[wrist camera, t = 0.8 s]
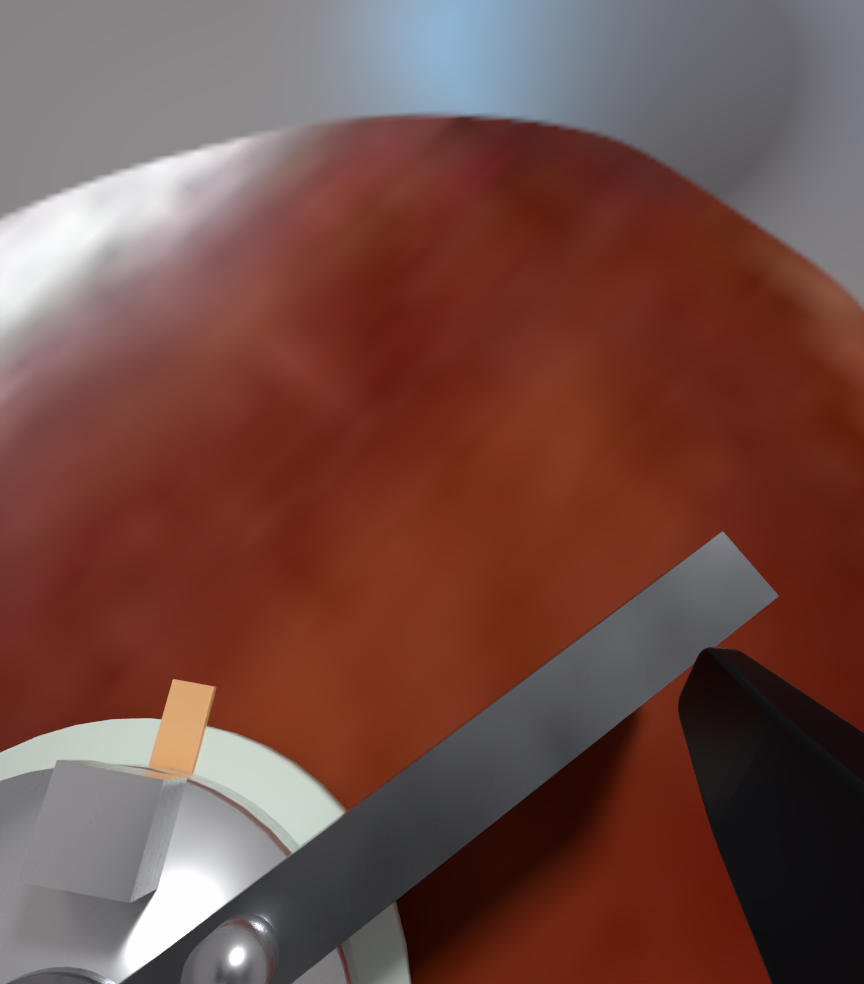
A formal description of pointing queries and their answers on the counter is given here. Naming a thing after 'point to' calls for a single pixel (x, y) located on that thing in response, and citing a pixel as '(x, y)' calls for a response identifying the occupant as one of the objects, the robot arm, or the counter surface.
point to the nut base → (233, 765)
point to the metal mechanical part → (339, 846)
